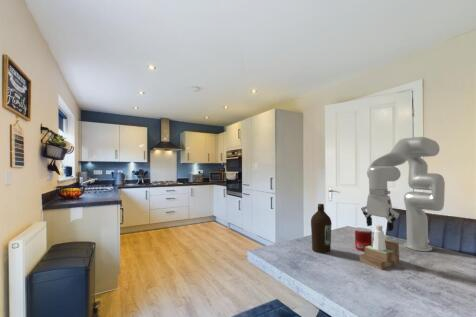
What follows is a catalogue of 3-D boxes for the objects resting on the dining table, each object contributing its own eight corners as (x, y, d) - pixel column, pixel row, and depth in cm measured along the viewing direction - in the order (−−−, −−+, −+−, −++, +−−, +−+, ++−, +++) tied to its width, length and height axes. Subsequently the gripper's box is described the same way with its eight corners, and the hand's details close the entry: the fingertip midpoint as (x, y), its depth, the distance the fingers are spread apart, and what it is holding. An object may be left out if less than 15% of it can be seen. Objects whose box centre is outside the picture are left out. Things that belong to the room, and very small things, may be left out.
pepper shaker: (381, 246, 111) (380, 224, 112) (388, 250, 106) (388, 227, 106) (370, 246, 111) (369, 224, 111) (377, 250, 106) (377, 227, 106)
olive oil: (307, 250, 123) (307, 203, 125) (316, 245, 131) (316, 202, 132) (326, 255, 116) (325, 206, 117) (335, 250, 123) (334, 204, 124)
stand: (377, 255, 116) (377, 236, 117) (400, 263, 107) (400, 243, 107) (359, 261, 109) (359, 241, 109) (382, 270, 100) (382, 248, 100)
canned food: (374, 252, 121) (373, 231, 121) (357, 251, 122) (357, 230, 123) (368, 247, 128) (368, 227, 129) (353, 246, 130) (353, 227, 130)
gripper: (402, 193, 104) (403, 231, 103) (365, 190, 119) (366, 223, 119) (393, 195, 100) (395, 234, 100) (356, 191, 115) (357, 225, 115)
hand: (379, 228), depth 109 cm, fingers open, 9 cm apart
